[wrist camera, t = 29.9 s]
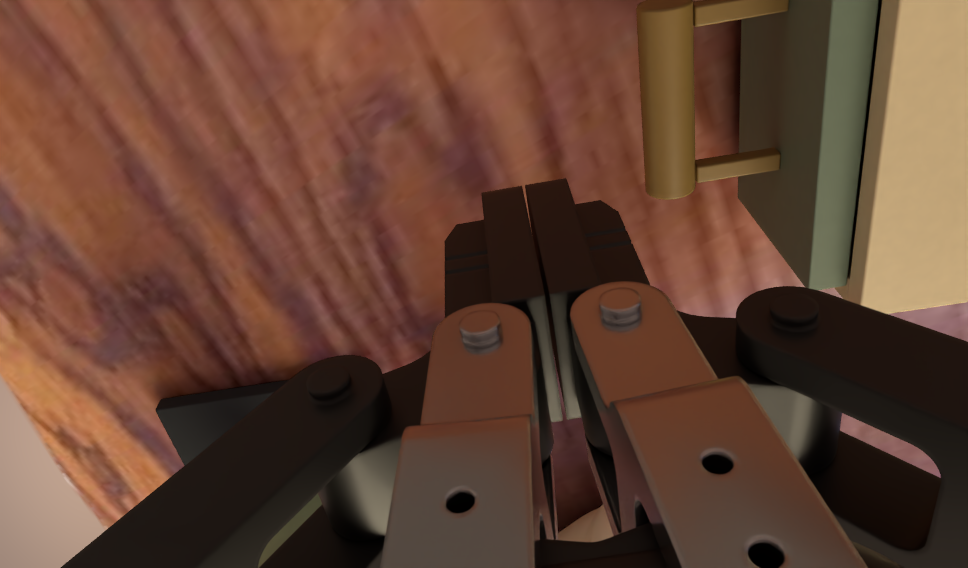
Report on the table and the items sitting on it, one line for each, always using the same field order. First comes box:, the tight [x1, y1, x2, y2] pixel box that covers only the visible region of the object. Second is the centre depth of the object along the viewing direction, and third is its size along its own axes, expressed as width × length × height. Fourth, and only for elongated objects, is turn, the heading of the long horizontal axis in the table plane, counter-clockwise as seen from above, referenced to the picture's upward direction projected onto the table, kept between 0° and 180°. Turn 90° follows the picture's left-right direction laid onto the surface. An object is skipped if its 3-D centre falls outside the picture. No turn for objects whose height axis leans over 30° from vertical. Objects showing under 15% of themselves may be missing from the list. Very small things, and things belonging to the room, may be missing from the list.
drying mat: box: [156, 380, 289, 465], centre depth 38 cm, size 16×10×1 cm, turn 9°
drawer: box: [636, 0, 882, 290], centre depth 23 cm, size 19×12×7 cm, turn 99°
